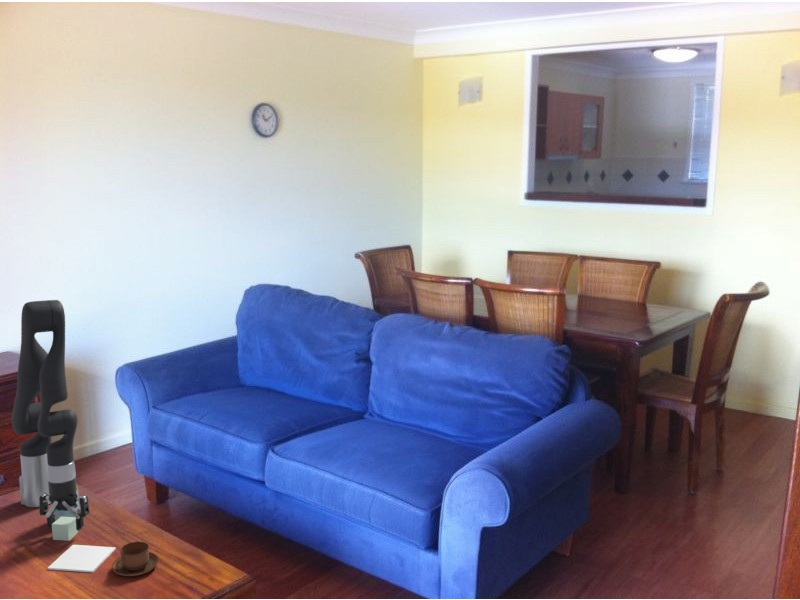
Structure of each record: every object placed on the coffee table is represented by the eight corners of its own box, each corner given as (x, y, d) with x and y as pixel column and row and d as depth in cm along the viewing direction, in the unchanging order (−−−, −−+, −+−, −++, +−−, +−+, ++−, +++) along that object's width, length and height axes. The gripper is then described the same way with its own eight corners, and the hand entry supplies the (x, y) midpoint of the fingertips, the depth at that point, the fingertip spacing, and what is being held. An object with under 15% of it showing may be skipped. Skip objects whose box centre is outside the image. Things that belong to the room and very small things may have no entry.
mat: (47, 569, 207) (47, 567, 206) (73, 546, 219) (73, 544, 219) (92, 572, 205) (92, 570, 205) (115, 549, 218) (115, 547, 218)
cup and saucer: (144, 583, 201) (143, 561, 200) (103, 577, 203) (102, 556, 202) (166, 560, 212) (165, 540, 211) (127, 555, 215) (126, 535, 213)
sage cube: (52, 539, 223) (51, 524, 222) (62, 531, 228) (61, 516, 227) (69, 540, 223) (67, 525, 222) (77, 532, 227) (76, 517, 227)
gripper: (91, 472, 225) (94, 524, 227) (46, 471, 226) (50, 521, 229) (78, 482, 218) (82, 535, 220) (31, 480, 219) (35, 533, 222)
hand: (65, 528), depth 225 cm, fingers open, 8 cm apart
